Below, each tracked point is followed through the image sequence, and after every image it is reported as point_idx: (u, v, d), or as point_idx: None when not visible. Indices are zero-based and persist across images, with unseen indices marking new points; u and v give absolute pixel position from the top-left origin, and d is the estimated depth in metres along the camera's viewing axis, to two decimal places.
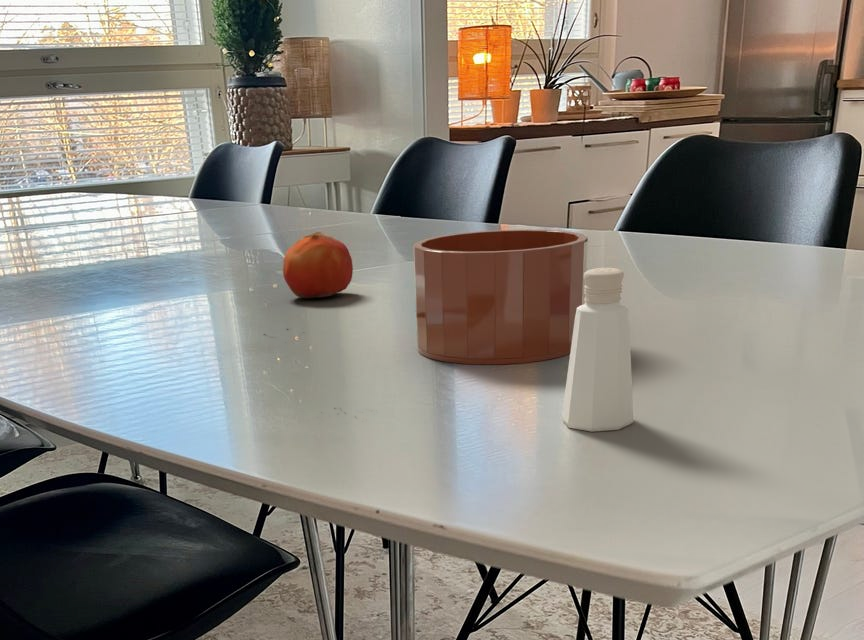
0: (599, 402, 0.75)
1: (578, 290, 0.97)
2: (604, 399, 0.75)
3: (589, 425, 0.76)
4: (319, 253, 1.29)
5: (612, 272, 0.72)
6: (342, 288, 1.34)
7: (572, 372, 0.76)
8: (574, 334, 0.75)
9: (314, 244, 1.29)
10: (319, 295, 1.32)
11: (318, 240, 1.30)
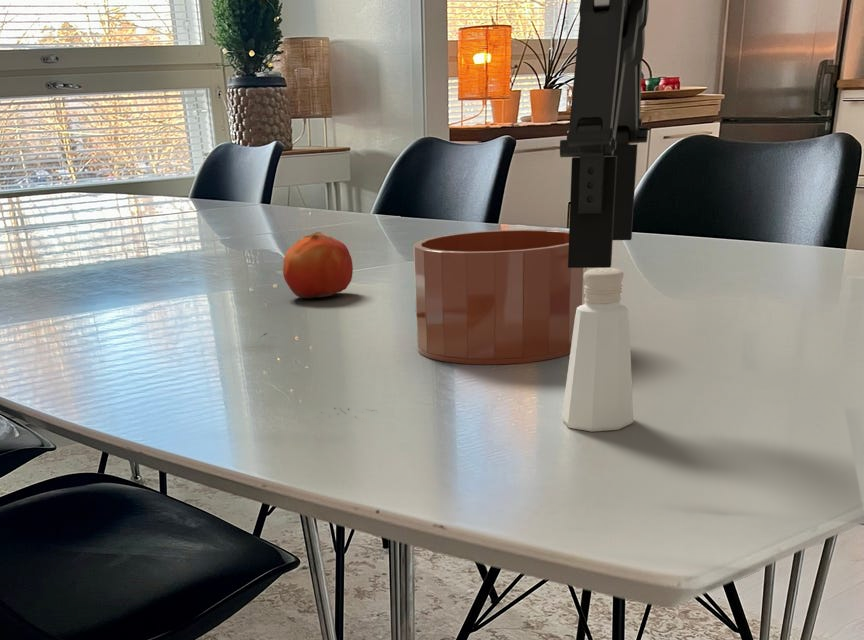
0: (599, 402, 0.75)
1: (578, 290, 0.97)
2: (604, 399, 0.75)
3: (589, 425, 0.76)
4: (319, 252, 1.29)
5: (612, 272, 0.72)
6: (342, 288, 1.34)
7: (572, 372, 0.76)
8: (574, 334, 0.75)
9: (314, 244, 1.29)
10: (319, 295, 1.32)
11: (318, 240, 1.30)
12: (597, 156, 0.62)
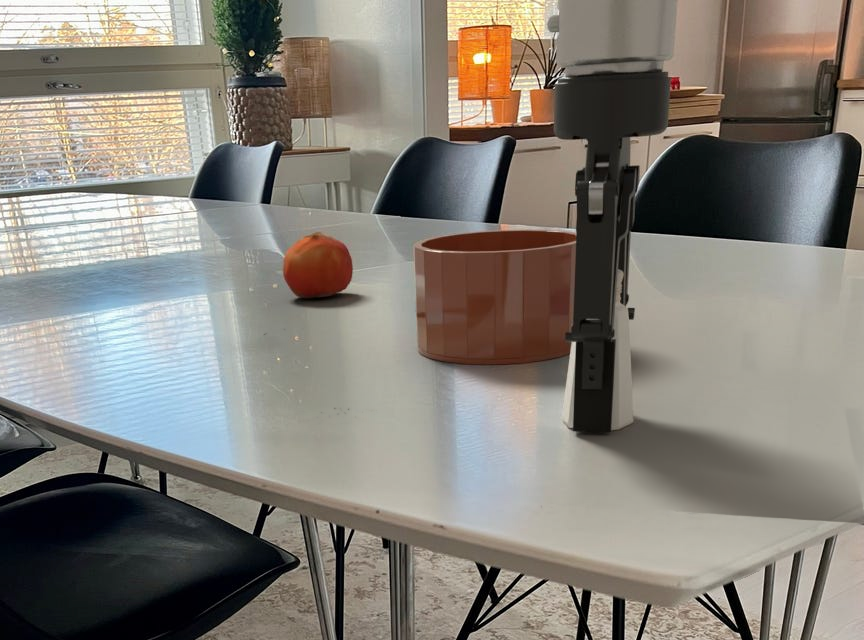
0: None
1: None
2: None
3: None
4: (319, 253, 1.29)
5: None
6: (342, 288, 1.34)
7: (572, 372, 0.76)
8: None
9: (314, 244, 1.29)
10: (319, 295, 1.32)
11: (318, 240, 1.30)
12: (598, 343, 0.71)
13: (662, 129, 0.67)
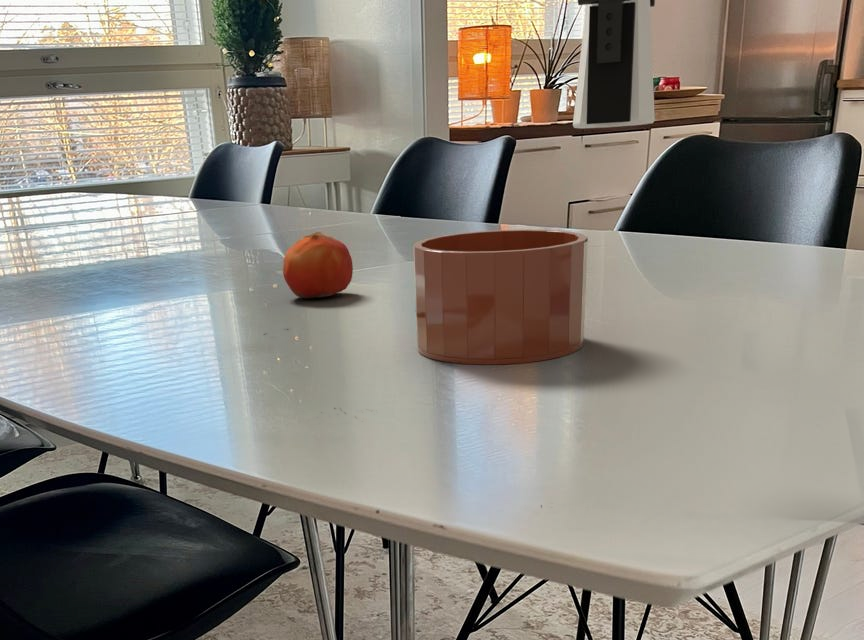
0: None
1: (578, 290, 0.97)
2: None
3: None
4: (319, 252, 1.29)
5: None
6: (342, 288, 1.34)
7: (584, 59, 0.66)
8: (586, 13, 0.66)
9: (314, 244, 1.29)
10: (319, 295, 1.32)
11: (318, 240, 1.30)
12: (616, 0, 0.61)
13: None
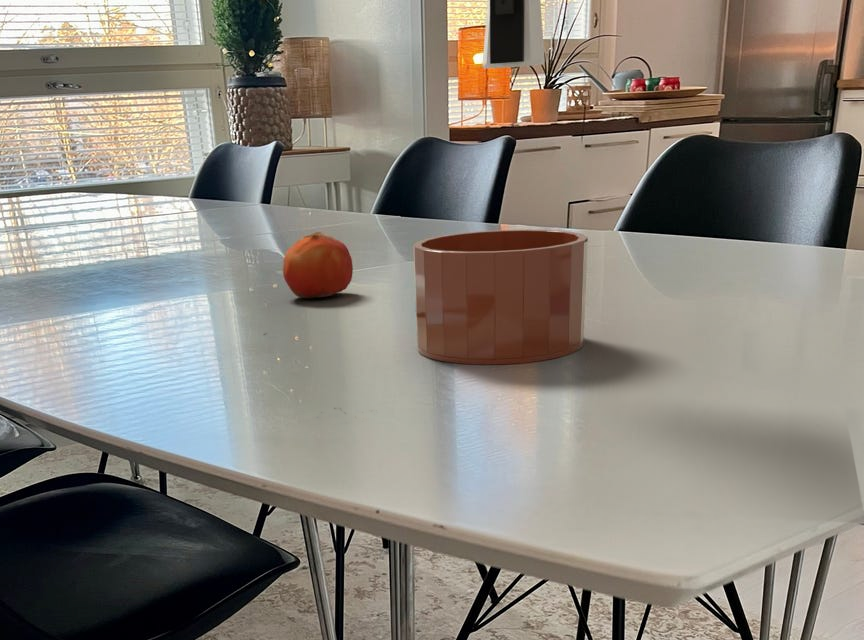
0: None
1: (578, 290, 0.97)
2: None
3: None
4: (319, 253, 1.29)
5: None
6: (342, 288, 1.34)
7: (489, 13, 0.85)
8: None
9: (314, 244, 1.29)
10: (319, 295, 1.32)
11: (318, 240, 1.30)
12: None
13: None
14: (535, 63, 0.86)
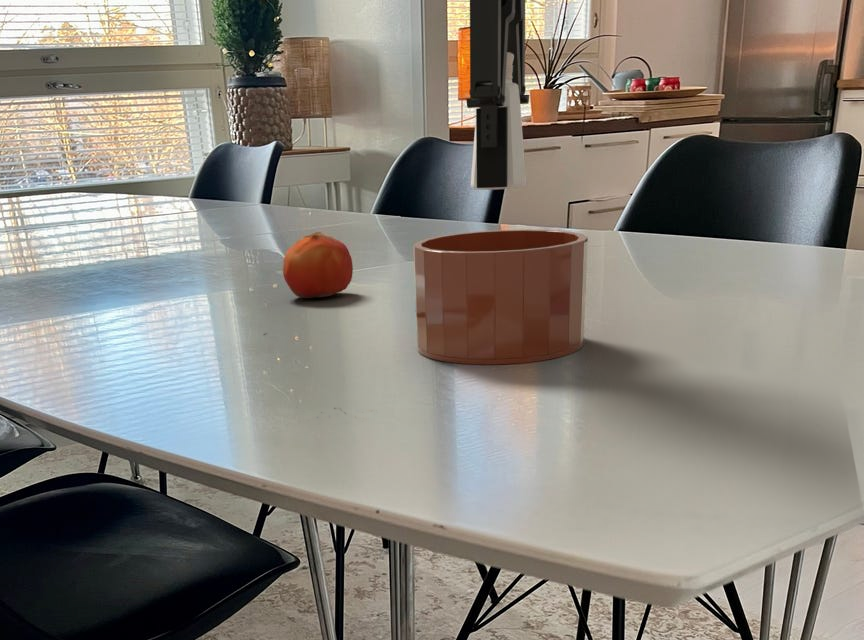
0: None
1: (578, 290, 0.97)
2: None
3: None
4: (319, 252, 1.29)
5: None
6: (342, 288, 1.34)
7: (475, 142, 0.94)
8: None
9: (314, 244, 1.29)
10: (319, 295, 1.32)
11: (318, 240, 1.30)
12: (492, 106, 0.89)
13: None
14: (517, 186, 0.95)
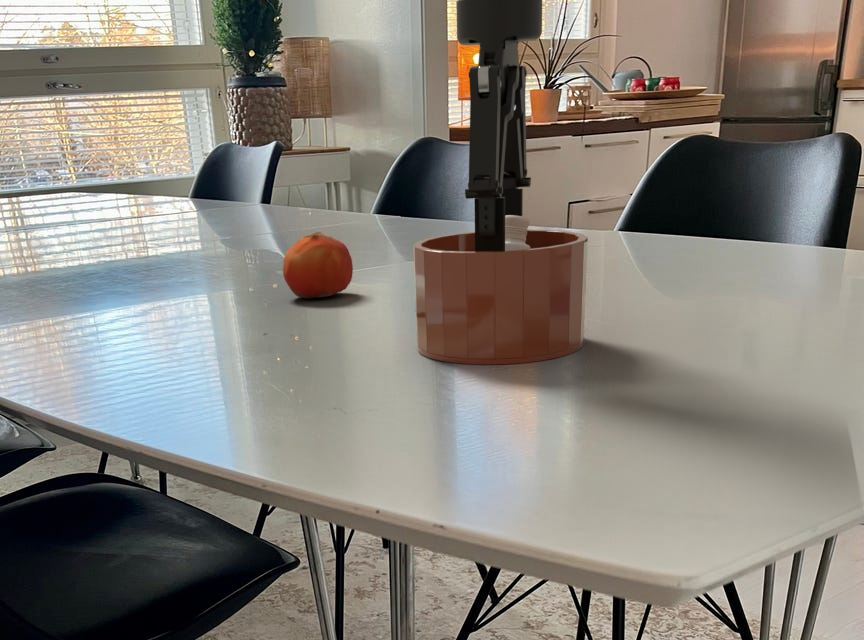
0: None
1: (578, 290, 0.97)
2: None
3: None
4: (319, 253, 1.29)
5: (521, 216, 0.99)
6: (342, 288, 1.34)
7: None
8: None
9: (314, 244, 1.29)
10: (319, 295, 1.32)
11: (318, 240, 1.30)
12: (490, 198, 0.92)
13: (536, 35, 0.89)
14: None
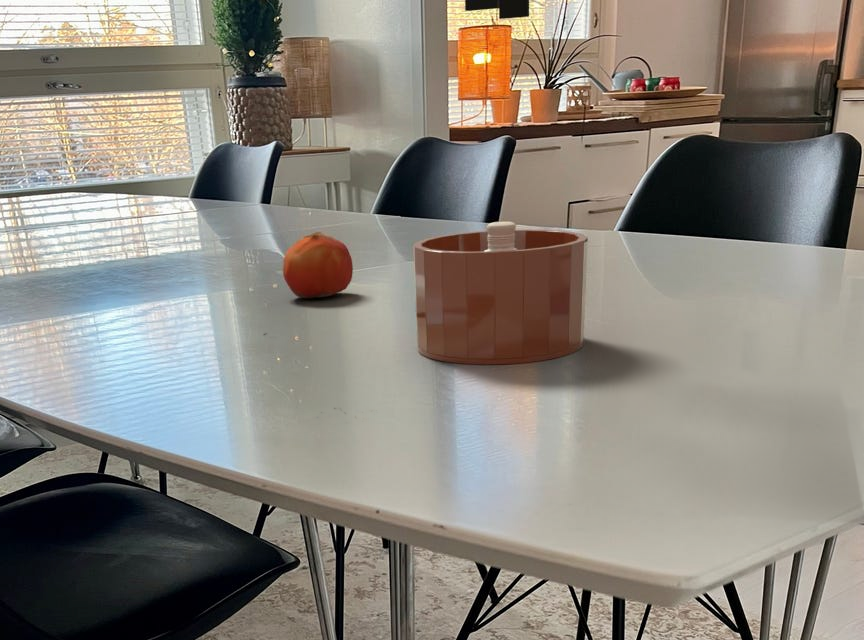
0: None
1: (578, 290, 0.97)
2: None
3: None
4: (319, 253, 1.29)
5: (507, 224, 0.97)
6: (342, 288, 1.34)
7: None
8: None
9: (314, 244, 1.29)
10: (319, 295, 1.32)
11: (318, 240, 1.30)
12: None
13: None
14: None
